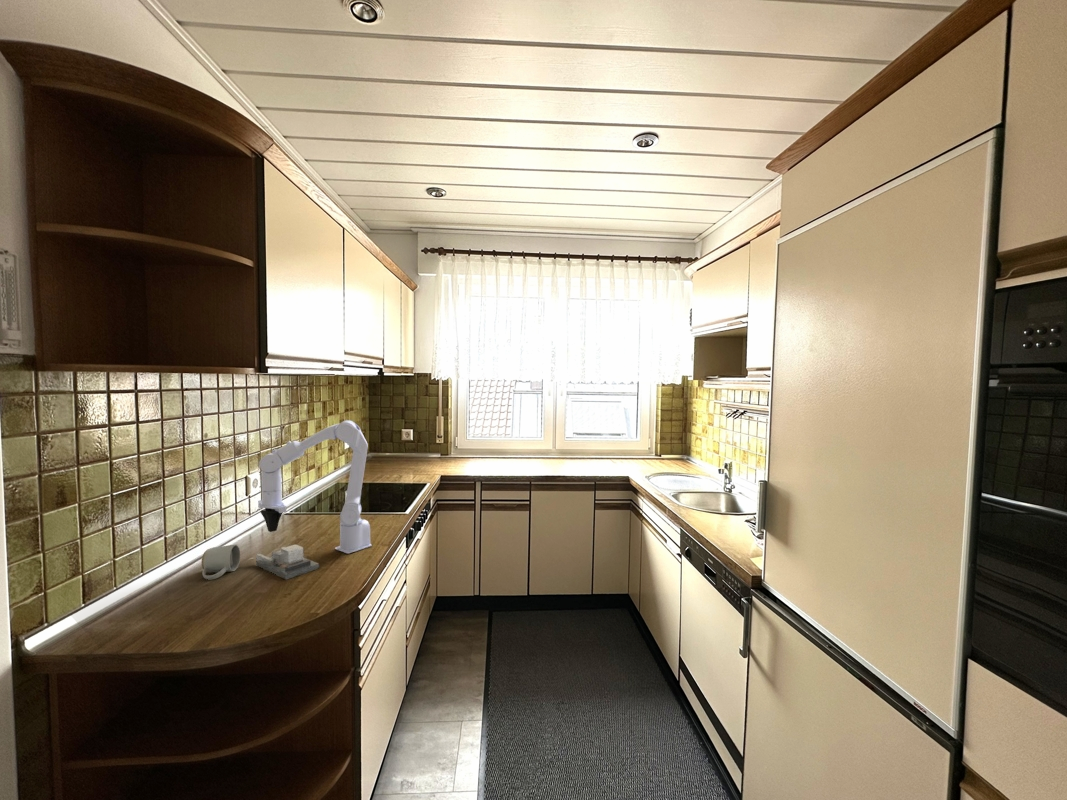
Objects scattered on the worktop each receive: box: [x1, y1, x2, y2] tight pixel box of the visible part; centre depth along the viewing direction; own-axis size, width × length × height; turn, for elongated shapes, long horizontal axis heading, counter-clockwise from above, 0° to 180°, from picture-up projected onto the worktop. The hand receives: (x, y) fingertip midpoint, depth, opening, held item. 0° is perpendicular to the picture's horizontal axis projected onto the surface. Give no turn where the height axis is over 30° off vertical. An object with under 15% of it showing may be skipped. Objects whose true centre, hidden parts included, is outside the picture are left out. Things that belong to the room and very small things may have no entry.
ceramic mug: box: [201, 544, 241, 581], centre depth 139 cm, size 11×8×8 cm
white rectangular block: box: [280, 543, 304, 567], centre depth 142 cm, size 4×4×5 cm
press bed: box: [255, 546, 320, 580], centre depth 144 cm, size 10×20×3 cm, turn 55°
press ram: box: [271, 549, 281, 565], centre depth 145 cm, size 6×4×3 cm, turn 145°
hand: (272, 530), depth 153 cm, fingers closed
